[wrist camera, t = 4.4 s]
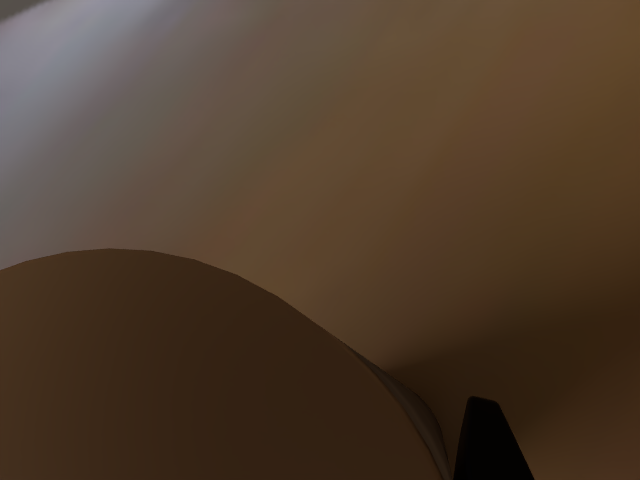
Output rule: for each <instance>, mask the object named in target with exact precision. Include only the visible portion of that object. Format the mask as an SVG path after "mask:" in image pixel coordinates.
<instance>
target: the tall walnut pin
mask: <svg viewBox="0 0 640 480" xmlns="http://www.w3.org/2000/svg"><path fill="white" fill-rule="evenodd" d="M0 480H452V476H451V472H450V467H449V463H448V458H447V454H446V450H445V445H444V441H443V436H442V433H441V430H440V427H439V424H438V422H437V420H436V418H435V416H434V414H433V413H432V411H431V410H430V408H429V407H428V406H427V404H426V403H425V402H424V401H423V400H422V399H421V398H420V397H419V396H418V395H417V394H415V393H414V392H413V391H411V390H410V389H408V388H407V387H406V386H404V385H403V384H401V383H400V382H398V381H397V380H396V379H394V378H393V377H391V376H390V375H389V374H387V373H386V372H384V371H383V370H381V369H380V368H379V367H377V366H376V365H374V364H373V363H371V362H370V361H369V360H367V359H366V358H364V357H363V356H362V355H360V354H359V353H357V352H356V351H354V350H353V349H352V348H350V347H349V346H347V345H346V344H345V343H343V342H342V341H340V340H339V339H337V338H336V337H335V336H333V335H332V334H330V333H329V332H327V331H326V330H325V329H323V328H322V327H320V326H319V325H318V324H316V323H315V322H313V321H312V320H310V319H309V318H308V317H306V316H305V315H303V314H302V313H301V312H299V311H298V310H296V309H295V308H293V307H292V306H291V305H289V304H288V303H286V302H285V301H283V300H282V299H281V298H279V297H278V296H276V295H274V294H272V293H270V292H268V291H266V290H264V289H263V288H261V287H259V286H257V285H255V284H253V283H251V282H249V281H247V280H246V279H244V278H242V277H240V276H238V275H236V274H233V273H230V272H228V271H225V270H222V269H219V268H216V267H214V266H211V265H208V264H205V263H202V262H200V261H197V260H194V259H189V258H184V257H179V256H174V255H169V254H164V253H159V252H154V251H144V250H126V249H97V250H85V251H73V252H65V253H60V254H56V255H51V256H47V257H42V258H38V259H33V260H29V261H25V262H22V263H19V264H17V265H14V266H11V267H8V268H5V269H3V270H0Z"/></svg>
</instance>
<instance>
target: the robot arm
mask: <svg viewBox="0 0 640 480" xmlns="http://www.w3.org/2000/svg"><path fill="white" fill-rule="evenodd" d="M453 480H535V479H534V477H533V475H532V473H531V471H530V469H529V467H528V464H527V462H526V460H525V458H524V456H523V454H522V452H521V450H520V448H519V445H518V443H517V441H516V439H515V437H514V435H513V433H512V431H511V429H510V426H509V424H508V422H507V420H506V418H505V416H504V414H503V412H502V410H501V408H500V406H499V404H498V403H497V402H495V401H492V400H488V399H484V398H480V397H476V396H471V397H470V398H469V399H468V401H467V405H466V410H465V415H464V419H463V424H462V428H461V433H460V438H459V444H458V450H457V457H456V464H455V471H454V478H453Z"/></svg>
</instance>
